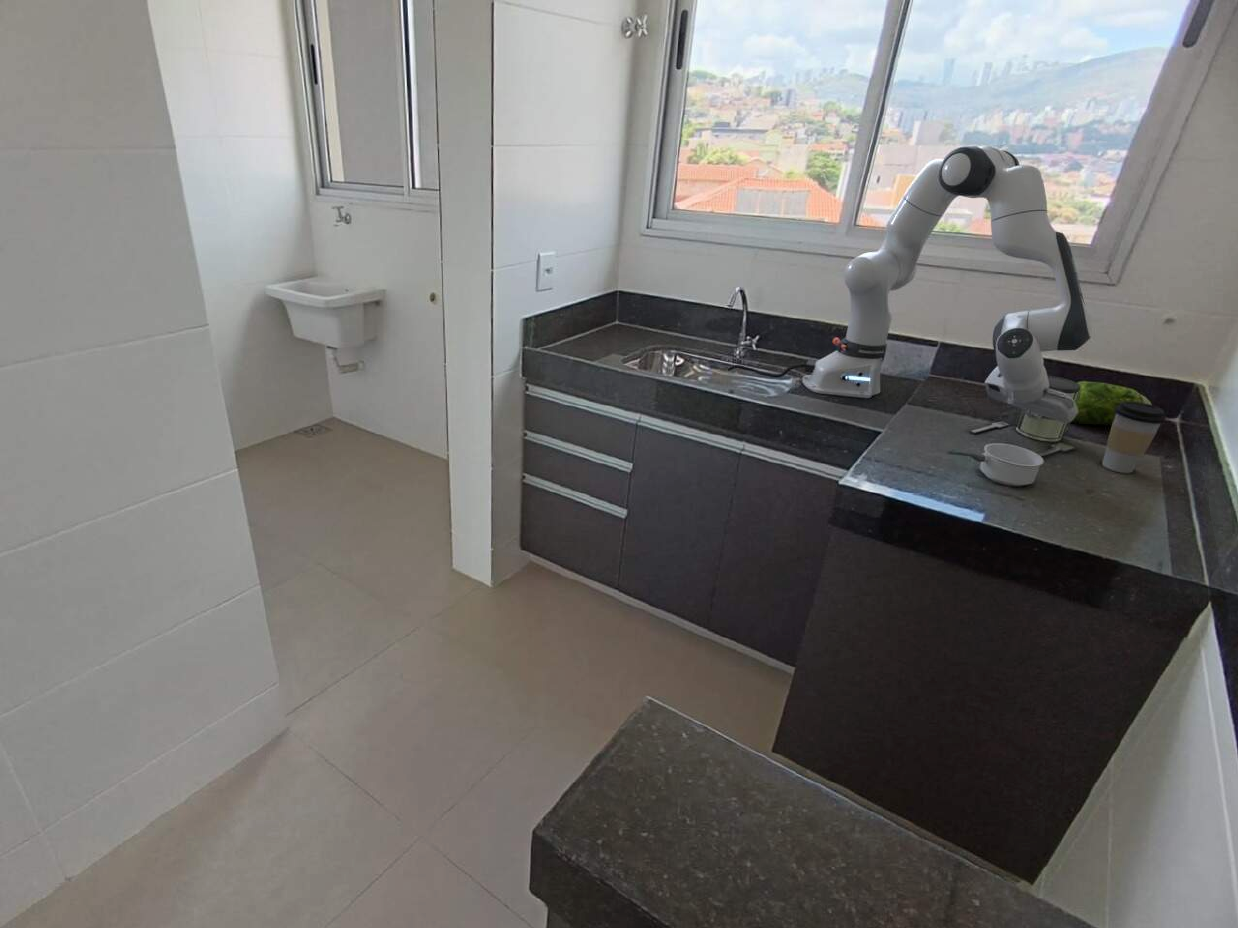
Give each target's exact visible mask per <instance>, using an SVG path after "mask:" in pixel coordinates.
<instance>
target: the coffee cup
mask: <svg viewBox="0 0 1238 928" xmlns="http://www.w3.org/2000/svg"><path fill="white" fill-rule="evenodd" d="M1114 412H1115V413H1116V416H1115V419H1114V422H1113V423H1112V425H1111V428H1110V432H1109V435H1108V438H1107V442H1106V448H1105V452H1104V456H1103V459H1102V466H1103V467H1104V468H1106V469H1108V470H1111V471H1113V472H1115V473H1116V472H1117V473H1121V474H1130V473H1131V474H1132V473H1133V472H1134V470H1135V468H1136V467H1137V465H1138V464H1139V461H1140V460H1141V458H1142V457H1143V455H1144V454H1145V453H1146V452H1147V450H1148V448H1149V447H1150V445H1151V443H1152V441H1153V439H1154V438H1155V436H1156V434H1157V433H1158V429H1159V428H1160V426H1161V424H1164V423H1165V422H1166V420H1167V416H1166V415H1165V410H1164V409H1162V408H1160V407H1158V406H1156V405H1153V404H1151V405H1150V404H1146V403H1141V402H1135V401H1124V402H1122V403H1121V404H1120V405H1118V406H1116V408H1115V409H1114Z"/></svg>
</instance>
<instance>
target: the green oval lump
mask: <svg viewBox="0 0 1238 928" xmlns="http://www.w3.org/2000/svg"><path fill="white" fill-rule="evenodd" d="M1077 383H1078V384H1079V385H1080V386H1081V388H1080V390H1079V391H1078V394H1077V397H1076V399H1075V404H1076V406H1077V409H1078V414H1077V416H1076V417H1075V418H1074V419H1073V420H1072V421H1071V422H1072V423H1074V424H1080V425H1092V426H1093V425H1094V426H1112V423H1113V422H1114V419H1115V416H1116V413H1115V412H1114V409H1115V408H1116V406H1118V405H1120V404H1121V403H1122V402H1124V401H1135V402H1141V403H1146V404H1150V405H1152V403H1151V401H1150V400H1149V399H1148V398H1147V397H1146V396H1144V395H1142V394H1141V393H1139V392H1138V391H1136V390H1135V389H1132V388H1129V387H1126V386H1121V385H1116V384H1111V383H1107V382H1099V381H1098V382H1097V381H1085V380H1083V381H1077Z"/></svg>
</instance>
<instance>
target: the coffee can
mask: <svg viewBox="0 0 1238 928" xmlns="http://www.w3.org/2000/svg"><path fill="white" fill-rule="evenodd" d="M1047 377H1048V381H1049V388H1050V389H1053V390H1056V391H1059V392H1063V393H1066V394H1068V395H1069V396H1071V397H1072V398H1073V400H1074V402H1075V399H1076V397H1077V394H1078V391H1079V390H1080V388H1081V386H1080V385H1079V384H1078V382H1076V381H1073V380H1071V379H1067V378H1065V377H1058V376H1053V375H1047ZM1066 426H1067V423H1063V422H1060V421H1057V420H1054V419H1051V418H1048V417H1045V416H1042V417H1041V419H1040V420H1036V419H1033V418H1030V417H1027V415H1026V413H1025V412H1024V411H1023V410H1021V414H1020V417H1019V419H1018V423H1017V425H1016V428H1015V431H1016V432H1017V433H1018V434H1020V435H1022V436H1024V437H1027V438H1030V439H1033V440H1036V441H1042V442H1049V443H1053V442H1059V441H1062V436H1063V435H1064V431H1065V428H1066Z"/></svg>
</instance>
